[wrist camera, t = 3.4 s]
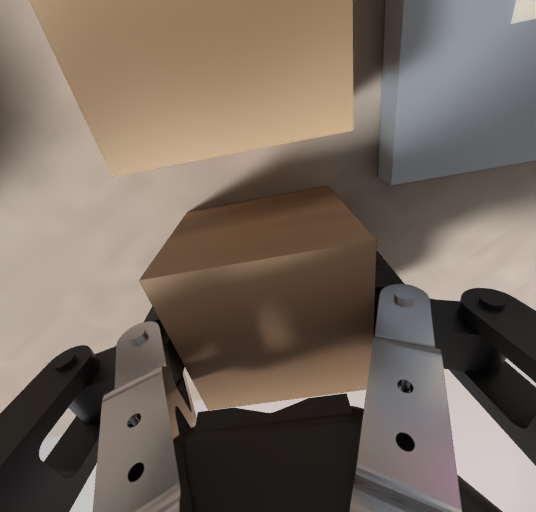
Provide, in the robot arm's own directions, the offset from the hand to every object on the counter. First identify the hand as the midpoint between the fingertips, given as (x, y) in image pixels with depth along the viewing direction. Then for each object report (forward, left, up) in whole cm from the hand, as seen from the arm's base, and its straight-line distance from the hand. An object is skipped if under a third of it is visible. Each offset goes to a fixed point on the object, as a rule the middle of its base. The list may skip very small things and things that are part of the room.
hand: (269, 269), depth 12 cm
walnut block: (0, 0, -1) cm, 1 cm away
